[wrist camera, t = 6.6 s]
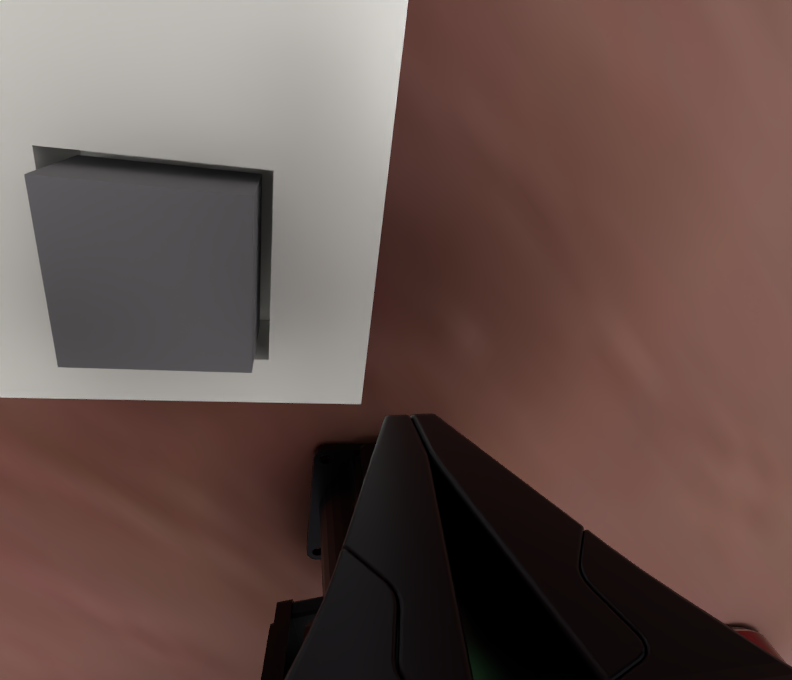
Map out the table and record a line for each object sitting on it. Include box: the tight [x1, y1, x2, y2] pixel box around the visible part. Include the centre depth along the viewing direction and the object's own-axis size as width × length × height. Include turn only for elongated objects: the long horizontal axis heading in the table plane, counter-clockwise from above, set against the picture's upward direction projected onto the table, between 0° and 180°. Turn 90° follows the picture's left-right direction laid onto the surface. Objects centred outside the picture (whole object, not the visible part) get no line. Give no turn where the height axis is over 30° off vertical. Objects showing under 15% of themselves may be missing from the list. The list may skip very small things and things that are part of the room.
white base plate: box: [0, 0, 408, 404], centre depth 13 cm, size 22×12×4 cm, turn 172°
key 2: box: [24, 155, 262, 373], centre depth 15 cm, size 5×5×3 cm
